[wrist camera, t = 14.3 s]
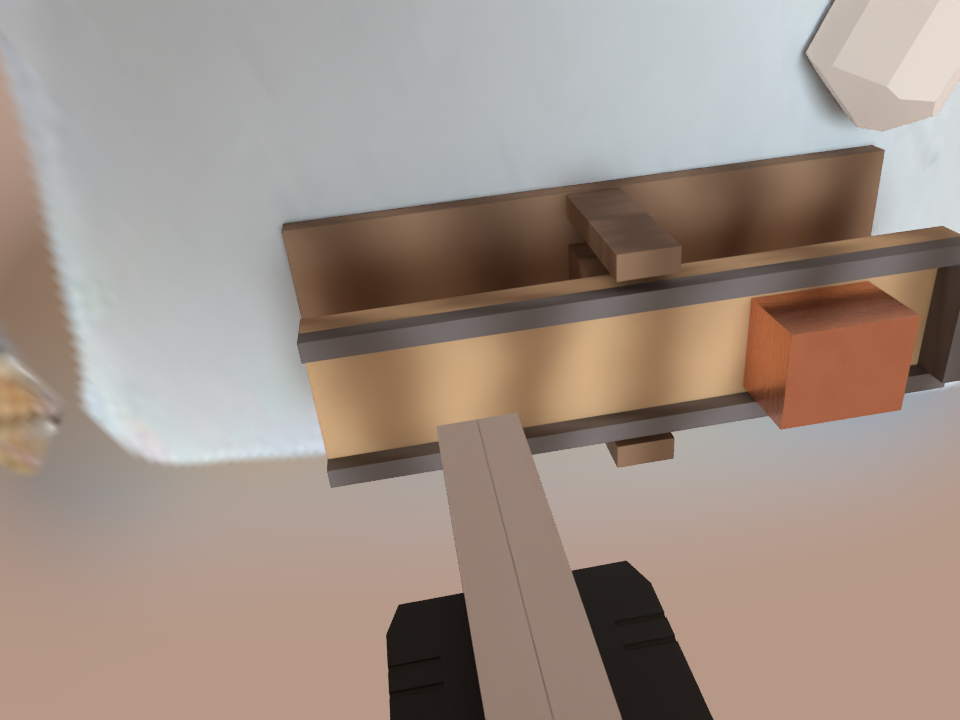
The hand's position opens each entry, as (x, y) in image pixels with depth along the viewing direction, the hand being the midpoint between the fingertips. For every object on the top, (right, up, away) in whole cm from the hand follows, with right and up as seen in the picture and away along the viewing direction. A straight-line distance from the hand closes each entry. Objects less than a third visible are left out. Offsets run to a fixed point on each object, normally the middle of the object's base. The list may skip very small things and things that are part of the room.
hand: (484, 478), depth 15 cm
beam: (+8, +3, +24) cm, 25 cm away
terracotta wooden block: (+16, +4, +24) cm, 29 cm away
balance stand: (+7, +7, +32) cm, 33 cm away
